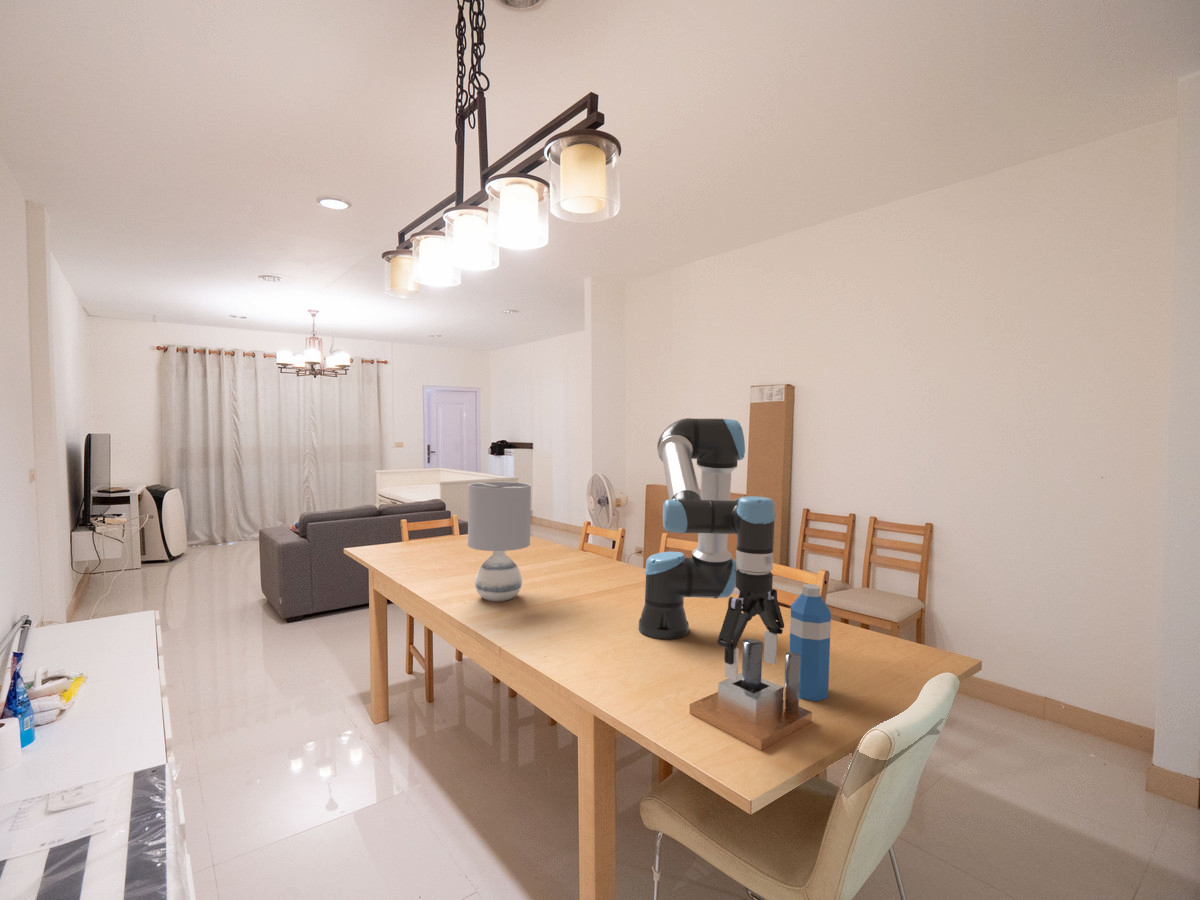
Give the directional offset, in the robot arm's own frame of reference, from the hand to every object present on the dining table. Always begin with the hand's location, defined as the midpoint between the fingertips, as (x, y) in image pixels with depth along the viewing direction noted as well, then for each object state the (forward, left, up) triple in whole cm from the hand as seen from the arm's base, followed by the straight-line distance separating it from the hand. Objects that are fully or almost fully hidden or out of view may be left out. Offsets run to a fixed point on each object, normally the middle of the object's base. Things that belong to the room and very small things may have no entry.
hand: (751, 670), depth 121 cm
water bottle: (+1, +21, -10) cm, 23 cm away
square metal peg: (0, 0, -8) cm, 8 cm away
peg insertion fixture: (0, 0, -10) cm, 10 cm away
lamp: (-106, -1, -10) cm, 107 cm away
